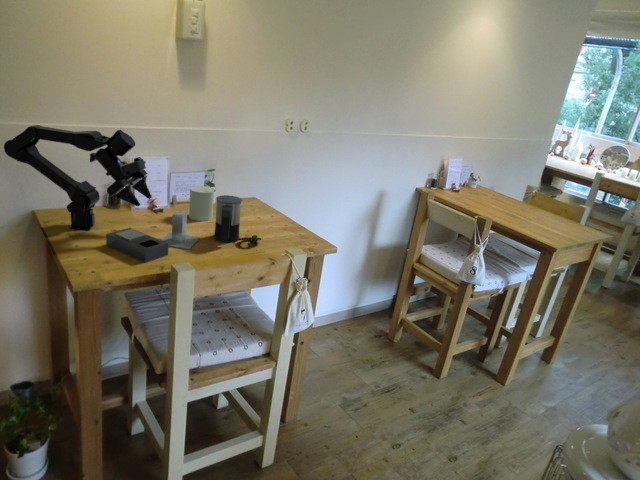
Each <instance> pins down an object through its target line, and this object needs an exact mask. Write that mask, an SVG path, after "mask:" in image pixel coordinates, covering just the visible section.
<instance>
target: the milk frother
mask: <svg viewBox="0 0 640 480" xmlns="http://www.w3.org/2000/svg"><path fill="white" fill-rule="evenodd" d="M215 199H216V210H215V211H216V212H215V224H214V226H215V227H214V233H213V238H214V239H215V240H217V241H219V242H224V243H233V242H237V241H252V243H253V242H254V243H258V241H261V240H262V237H258V234H257V235H251V237H241V238H240V221H241V210H242V202H243V198H241V197H239V196H237V195H236V196H234V195H227V194H226V195H225V194H224V195H218V196H216V198H215Z"/></svg>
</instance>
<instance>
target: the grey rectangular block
mask: <svg viewBox="0 0 640 480" xmlns="http://www.w3.org/2000/svg"><path fill="white" fill-rule="evenodd" d="M171 217H172V218H171V220H172V221H171V233H172V242H175V243H183V242H184V241H185V240H186V235H187V227H188V226H187V224H188V211H186V210H178V209H176V211H174V212H173V213H172V216H171Z"/></svg>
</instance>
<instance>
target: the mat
mask: <svg viewBox="0 0 640 480" xmlns="http://www.w3.org/2000/svg"><path fill="white" fill-rule="evenodd" d="M160 240H161V241H164V242H166V243H168V248H176V249H183V250H191V248H192V247H194V245H196V243H197V242H198V241H199V240H200V237H199V236H193V235H187V234H186V240H185V241H184V242H183V243H175V242H172V232H168V233H166V235H165V236H164V237H163V238H161V239H160Z"/></svg>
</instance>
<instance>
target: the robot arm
mask: <svg viewBox="0 0 640 480" xmlns="http://www.w3.org/2000/svg"><path fill="white" fill-rule="evenodd" d="M40 140H42V141H48V142H49V141H50V142H55V143H60V144H67V145H68V144H69V145H72V146H73V147H75V148H77V149H80V150H83V151H84V152H85V151H86V152H91V153H89V163H93V162H96V161H97V162H98V163H99V164H100V165H101V167H102V168H103V169H104V170H105V171H106V173H105V175H106V177H109V176H110V177H111V178H112V179H113V180H114V181H113V182H112V184H110V185H109V186H108V187H107V188H106V193H107V194H108V195H109V196H110V197H114V198H117V199H120V200H122V201H125V202H127V203H129V204H131V205H133V206H135V207H140V206H141V203H140V201H139V200H138V198H137V197H136V195H135V194H134V193H133V191H132V189H134V190H135V191H136V192H138V193H140V194H141V195H142V196H144V197H146V198H147V199H148V200H151V199H152V198H153V197H152V194H151V191H150V190H149V187H148V184H147V178H148V172H147V171H146V170H145V169H147V168H146V165H145V164H146V161H145V160H144V159H143V158H142V157H141V156H137V157H135V158H134V159H133V161H132V162H129V163H128V162H127V161H126V160H123V161H122V160H121V159H120V158H119V157H124V156H125V155H126V154H128V153H129V151H131V150H132V149H133V148H134V147H135V146H136V142H135V140H134V138H133V137H132V136H130V135H129V134H128V133H126V132H124V131H123V130H122V129H118V130H116V131H115V132H114V133H113V134H112V136H107V135H103V134H102V133H101V132H100V131H97V130H81V131H74V130H67V129H60V128H55V127H48V126H47V127H46V126H42V125H41V124H34V125H30V126H27V128H26V129H24V131H22V132H20V133H19V134H17V135H16V136H14V137H13V138H12V139H8V140H6V141H5V142H4V145H3V150H4V153H5V154H6V156H7V157H10V158H12V159H13V160H14V161H17V162H20V163H24V164H26V165H29V166H31V168H34V170H36V171H37V172H38V173H40V174H42V175H43V176H44V177H46V178H47V179H48V180H50V181H51V182H52V183H54V185H57V186H58V187H59V188H60V189H62V190H63V191H64V192H66V194H67V196H68V197H69V200H70V203H68V204H67V205H66V209H67V212H68V213H70V221H71V223H70V226H69V229H71V230H82V231H83V230H84V231H90V230H91V229H92V228H93V227H94V226H95V225H96V219H95V212H94V209H93V208H95V206H96V204H97V203H98V202H99V201H100V192H99V191H98V190H97V187H96V186H94V185H92V184H91V183H89V181H87V180H83V181H81V182H79V181H77V180H76V179H74V178H72V176H70V175H68V174H67V172H65V171H63V170H62V169H61V168H59V167H58V166H56V165H55V164H54V163H52V162H51V161H50V160H48V159H47V158H46V157H45V156H43V155H42V154H41V153H40V151H39V149H38V147H37V144H38V142H39V141H40ZM103 147H105V148H103ZM97 149H98V150H97ZM95 150H97V151H96V152H92V151H95ZM131 188H132V189H131Z"/></svg>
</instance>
